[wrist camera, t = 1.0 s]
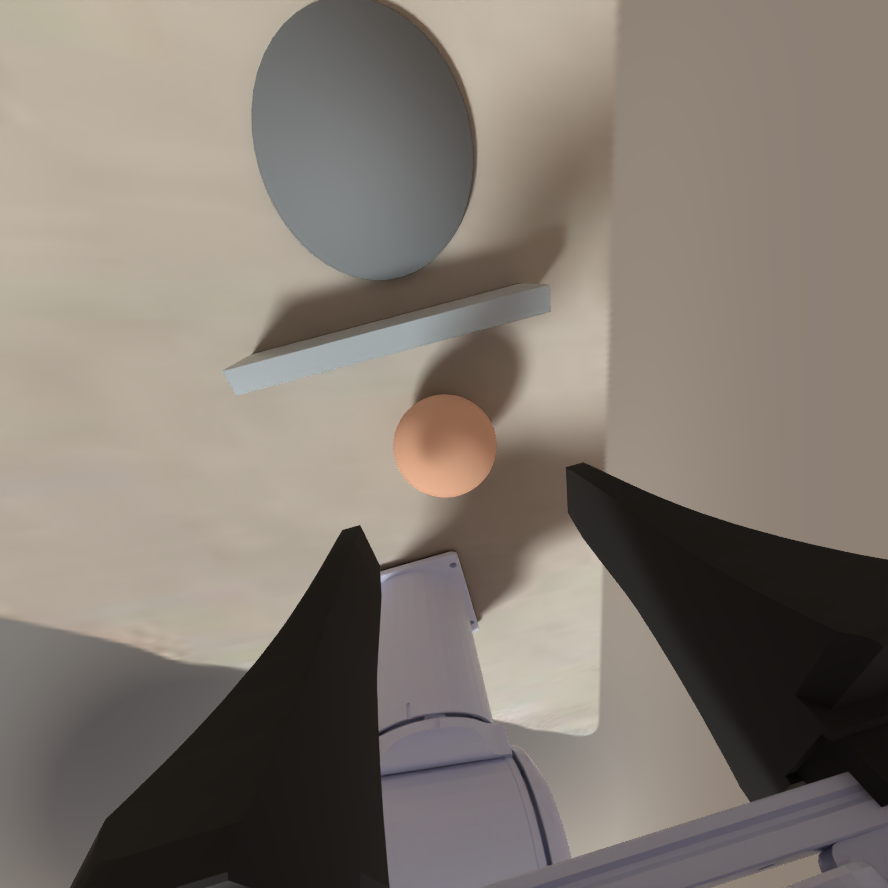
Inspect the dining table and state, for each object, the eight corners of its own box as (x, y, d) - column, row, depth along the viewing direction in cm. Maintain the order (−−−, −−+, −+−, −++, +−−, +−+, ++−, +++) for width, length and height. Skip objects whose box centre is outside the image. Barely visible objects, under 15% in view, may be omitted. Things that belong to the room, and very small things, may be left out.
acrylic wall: (523, 305, 16) (550, 311, 13) (262, 374, 15) (236, 395, 13) (521, 283, 15) (549, 284, 12) (251, 354, 15) (222, 371, 12)
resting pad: (485, 255, 14) (487, 254, 14) (311, 300, 14) (310, 300, 14) (447, -23, 10) (449, -31, 10) (206, 33, 10) (201, 27, 10)
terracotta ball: (487, 450, 19) (517, 502, 15) (407, 472, 19) (412, 531, 15) (473, 370, 17) (503, 404, 12) (380, 395, 17) (377, 438, 12)
